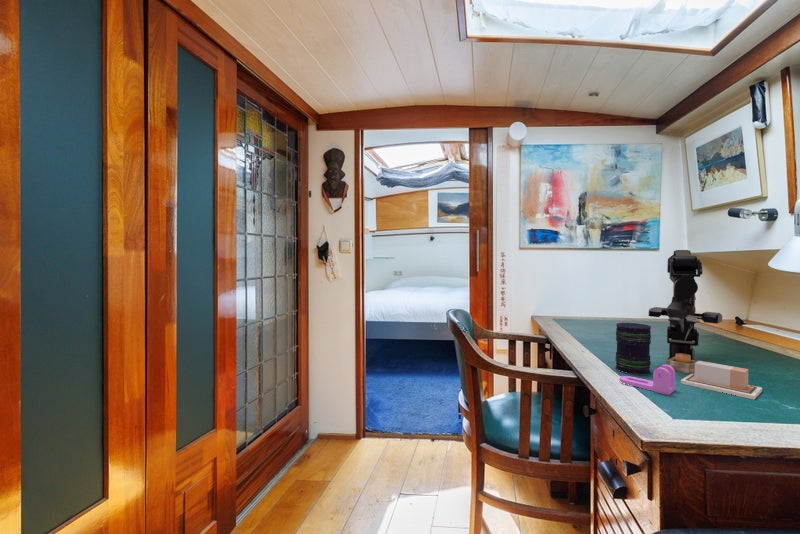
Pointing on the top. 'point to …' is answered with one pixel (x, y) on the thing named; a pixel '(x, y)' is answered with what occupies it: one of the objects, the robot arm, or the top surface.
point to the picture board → (723, 388)
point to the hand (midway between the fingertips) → (683, 340)
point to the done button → (683, 358)
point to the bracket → (655, 380)
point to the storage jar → (633, 348)
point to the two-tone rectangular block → (721, 375)
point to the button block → (682, 366)
